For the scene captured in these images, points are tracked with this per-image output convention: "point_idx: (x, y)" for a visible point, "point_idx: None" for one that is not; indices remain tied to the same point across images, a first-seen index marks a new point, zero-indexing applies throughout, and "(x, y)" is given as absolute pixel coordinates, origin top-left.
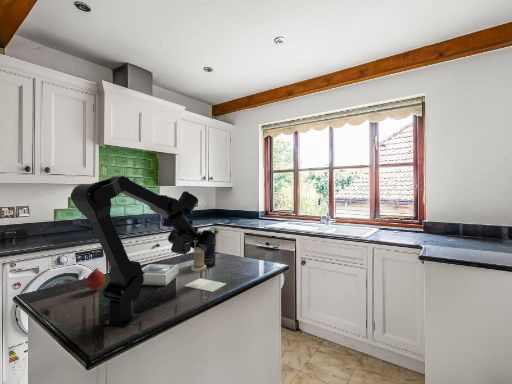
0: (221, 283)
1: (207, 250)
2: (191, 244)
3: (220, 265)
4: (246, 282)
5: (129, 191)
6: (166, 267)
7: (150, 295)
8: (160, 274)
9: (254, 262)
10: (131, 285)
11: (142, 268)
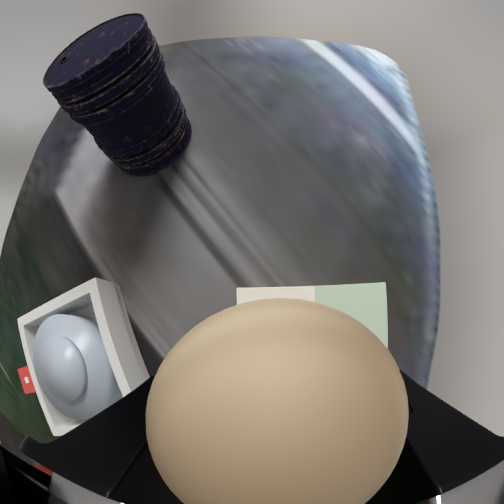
0: (367, 293)
1: (147, 108)
2: None
3: (208, 112)
4: (427, 227)
5: None
6: (81, 342)
7: None
8: None
9: (300, 52)
10: None
11: (31, 374)
